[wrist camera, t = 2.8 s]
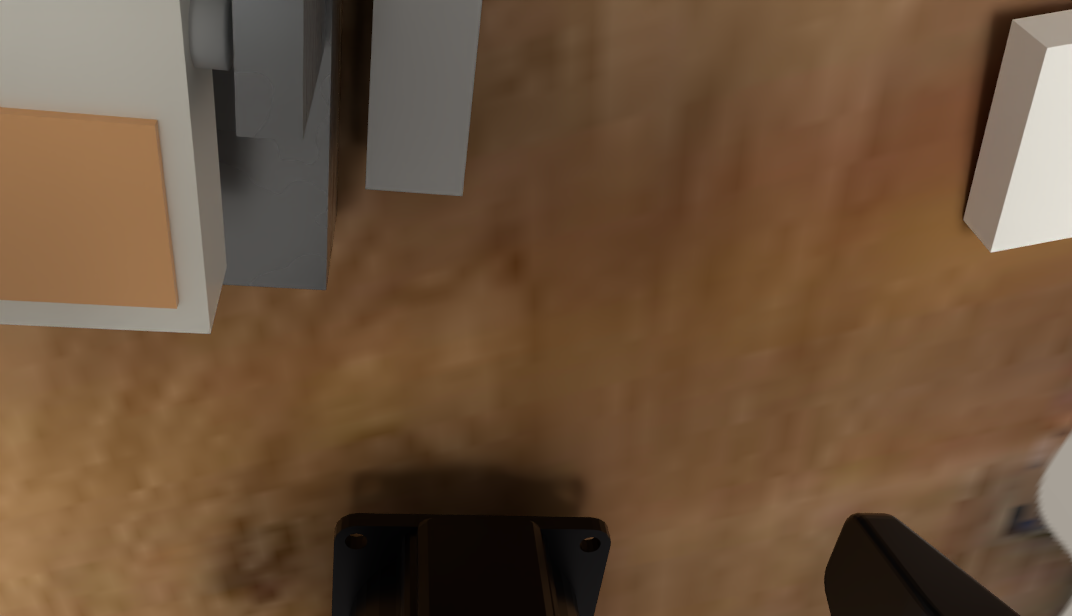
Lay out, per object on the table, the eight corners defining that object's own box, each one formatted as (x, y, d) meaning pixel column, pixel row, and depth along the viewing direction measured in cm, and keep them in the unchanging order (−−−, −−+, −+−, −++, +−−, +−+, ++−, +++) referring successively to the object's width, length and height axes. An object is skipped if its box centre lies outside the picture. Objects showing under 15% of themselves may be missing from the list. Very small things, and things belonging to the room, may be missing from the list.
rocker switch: (252, 268, 16) (236, 342, 14) (-70, 249, 15) (-117, 325, 14) (215, -415, 10) (185, -396, 9) (-311, -504, 9) (-433, -497, 8)
